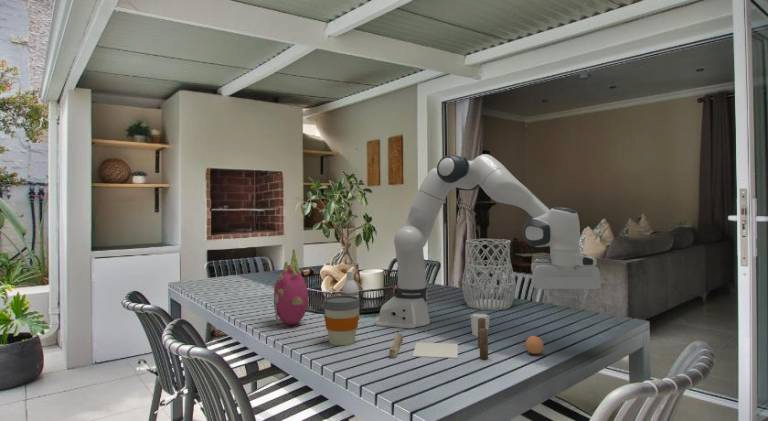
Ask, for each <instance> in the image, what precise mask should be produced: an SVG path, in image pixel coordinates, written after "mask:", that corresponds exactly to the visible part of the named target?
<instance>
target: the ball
mask: <svg viewBox="0 0 768 421" xmlns="http://www.w3.org/2000/svg"><path fill="white" fill-rule="evenodd" d="M524 345H525V349H526V350H527V351H528V353H530V354H533V355H538V354H540V353H542V351H543V350H544V341H543V340H542V339H541V338H540V337H539V336H536V335H531V336H529V337H528V338H527V339H526V340H525V344H524Z"/></svg>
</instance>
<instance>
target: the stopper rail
mask: <svg viewBox="0 0 768 421" xmlns="http://www.w3.org/2000/svg"><path fill="white" fill-rule="evenodd" d="M403 339H404V337H403V333H396V334H395V337H394V339H393V341H392V344H391V346H390V348H389V358H390V359H397V357H398V354H399V351H400V349H401V346H402V344H403Z"/></svg>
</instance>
